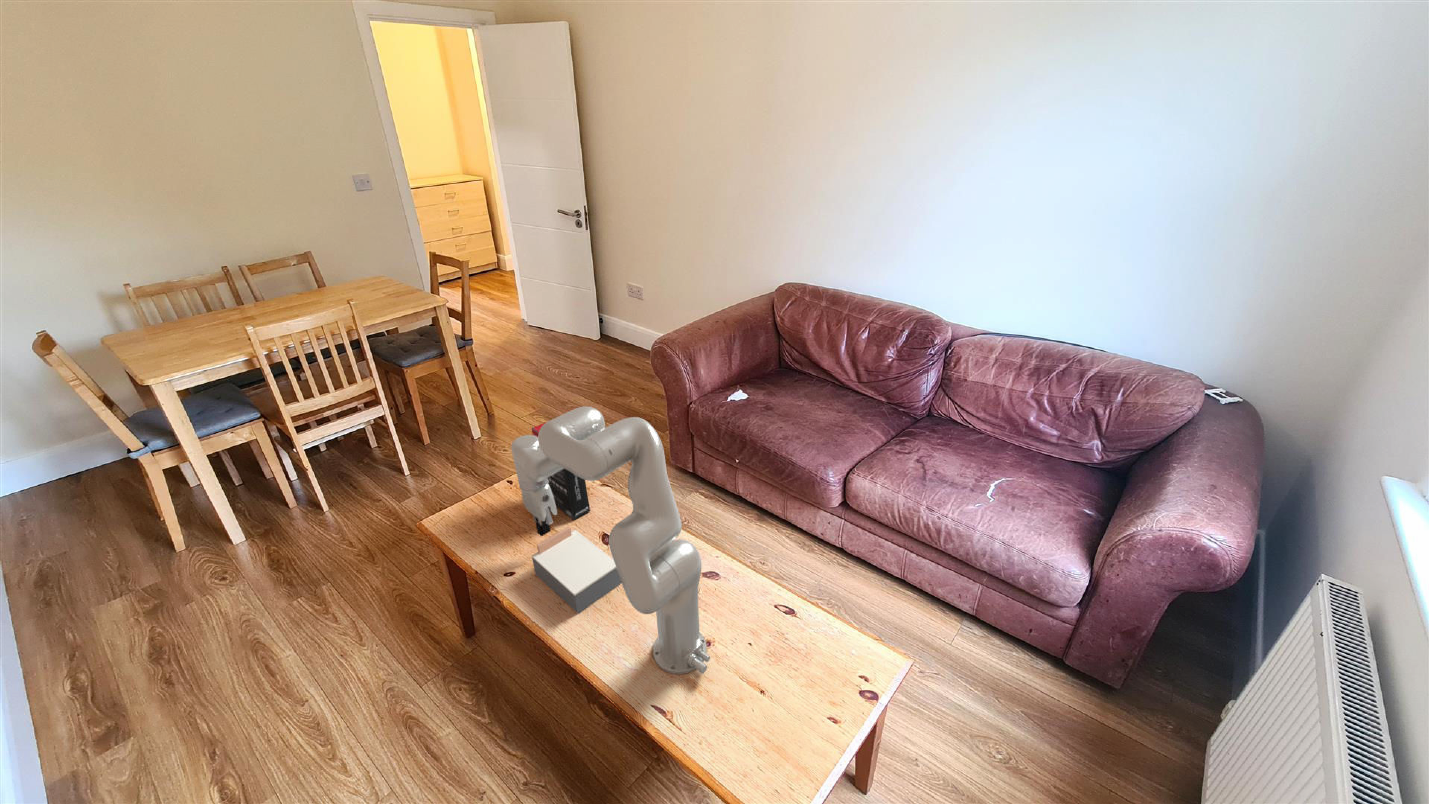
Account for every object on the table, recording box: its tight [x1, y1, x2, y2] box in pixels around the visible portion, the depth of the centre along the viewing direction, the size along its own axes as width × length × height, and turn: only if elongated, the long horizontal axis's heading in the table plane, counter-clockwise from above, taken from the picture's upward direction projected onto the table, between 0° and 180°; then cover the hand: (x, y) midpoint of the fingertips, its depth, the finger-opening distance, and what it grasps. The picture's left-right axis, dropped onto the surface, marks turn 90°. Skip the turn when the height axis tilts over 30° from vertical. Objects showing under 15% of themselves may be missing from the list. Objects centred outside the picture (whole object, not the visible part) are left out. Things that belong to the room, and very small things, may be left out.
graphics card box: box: [531, 421, 591, 521], centre depth 177 cm, size 17×7×27 cm, turn 46°
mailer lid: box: [531, 526, 616, 596], centre depth 152 cm, size 20×14×3 cm
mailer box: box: [531, 557, 622, 615], centre depth 155 cm, size 20×14×6 cm
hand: (544, 532), depth 161 cm, fingers closed
